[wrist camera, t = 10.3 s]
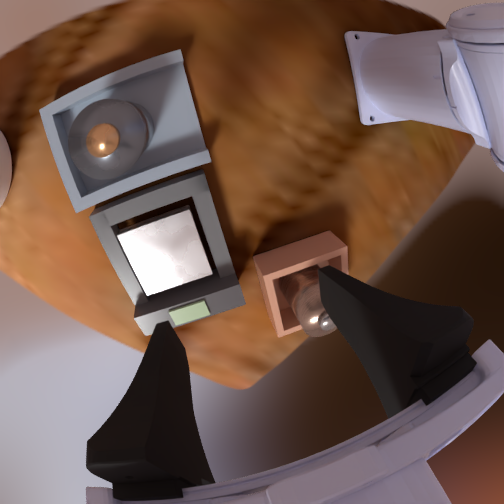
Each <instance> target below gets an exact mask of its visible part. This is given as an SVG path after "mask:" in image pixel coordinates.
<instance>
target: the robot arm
mask: <svg viewBox="0 0 504 504" xmlns="http://www.w3.org/2000/svg"><path fill="white" fill-rule="evenodd" d="M446 28H447V29H442V30H430V31H420V32H412V33H405V34H398V35H392V34H384V33H373V32H360V31H348V32H346V33H345V35H344V36H345V41H346V45H347V49H348V54H349V58H350V63H351V68H352V73H353V78H354V84H355V89H356V95H357V101H358V108H359V114H360V120H361V122H362V124H364V125H372V124H379V123H386V122H394V121H403V120H416V121H421V122H426V123H430V124H435V125H439V126H443V127H447V128H451V129H455V130H459V131H463V132H466V133H470V134H471V135H472V136H473V137H474V139H475V142H476V144H477V145H480V146H483V147H486V148H489V149H490V153H491V156H492V159H493V161H494V162H495V164H496V165H497V166H498V167H499V168H500V169H501V170H502V171H503V172H504V3H485V4H478V5H473V6H468V7H465V8H462V9H459V10H457V11H455V12H453V13H452V14H451V15H450V18H449V21H448V22H447V24H446ZM355 35H356V36H357V39H356V38H355ZM370 116H372V120H371V121H370ZM318 277H319V287H320V298H321V303H322V304H323V306H324V308H325V310H326V312H327V314H328V315H329V317H330V319H331V320H332V321H333V323H334V324H335V325H336V327H337V328H338V330H339V331H340V332H341V334H342V335H343V336H344V338H345V339H346V340H347V342H348V343H349V344H350V346H351V347H352V348H353V350H354V351H355V353H356V354H357V356H358V357H359V359H360V361H361V363H362V364H363V366H364V368H365V370H366V372H367V374H368V375H369V377H370V379H371V381H372V383H373V385H374V387H375V389H376V391H377V393H378V396H379V398H380V400H381V402H382V404H383V407H384V409H385V411H386V414H387V415H388V420H386V421H384V422H382V423H381V424H379V425H377V426H375V427H373V428H371V429H369V430H367V431H365V432H363V433H361V434H360V435H357V436H355V437H353V438H351V439H349V440H347V441H345V442H343V443H340V444H338V445H336V446H334V447H331V448H329V449H327V450H324V451H322V452H319V453H317V454H314V455H312V456H309V457H307V458H304V459H301V460H299V461H296V462H293V463H290V464H287V465H284V466H281V467H278V468H275V469H271V470H268V471H264V472H261V473H258V474H254V475H250V476H246V477H242V478H238V479H234V480H229V481H224V482H219V483H215V481H214V478H213V475H212V473H211V470H210V468H209V465H208V462H207V459H206V456H205V453H204V450H203V446H202V443H201V439H200V436H199V432H198V428H197V424H196V420H195V416H194V411H193V403H192V393H191V383H190V372H189V365H188V360H187V355H186V351H185V348H184V346H183V344H182V343H181V341H180V339H179V338H178V336H177V334H176V332H175V331H174V329H173V327H172V326H171V324H170V322H169V320H167V321H164V322H160V323H157V324H156V326H155V328H154V331H153V333H152V336H151V339H150V341H149V344H148V347H147V349H146V352H145V354H144V357H143V359H142V362H141V364H140V366H139V368H138V370H137V373H136V375H135V377H134V379H133V381H132V383H131V385H130V387H129V389H128V390H127V392H126V394H125V395H124V397H123V398H122V400H121V401H120V403H119V405H118V406H117V407H116V409H115V410H114V412H113V413H112V414H111V416H110V417H109V418H108V419H107V421H106V422H105V423H104V424H103V425H102V426H101V428H100V429H99V430H98V431H97V432H96V433H95V434H94V435H93V436H92V437H91V438H90V439H89V440H88V441H87V456H86V467H87V469H88V470H89V471H90V472H91V473H93V474H94V475H96V476H98V477H100V478H102V479H104V480H107V481H109V482H111V483H112V485H113V489H111V488H104V487H86V500H87V501H86V502H87V504H451V502H450V500H449V499H448V497H447V496H446V494H445V492H444V490H443V488H442V487H441V485H440V483H439V482H438V480H437V479H436V477H435V475H434V474H433V472H432V470H431V469H430V467H429V465H428V464H427V462H426V460H427V459H429V458H430V457H432V456H433V455H435V454H436V453H437V452H439V451H440V450H441V449H442V448H444V447H445V446H446V445H448V444H449V443H450V442H451V441H453V440H454V439H455V438H456V437H457V436H459V435H460V434H461V433H462V432H463V431H465V430H466V429H467V428H468V427H469V426H470V425H471V424H472V423H474V422H475V421H476V420H477V419H478V418H479V417H480V416H481V415H482V414H483V413H484V412H485V411H486V410H487V409H488V408H490V406H492V405H493V404H494V402H495V401H496V400H497V399H498V398H499V397H500V396H501V395H502V393H503V392H504V354H503V353H502V352H501V351H500V350H499V348H498V347H497V346H496V345H495V344H494V343H493V342H492V341H491V340H488V341H487V342H485V343H484V344H483V345H482V346H481V347H480V348H479V349H478V350H477V351H476V352H475V353H474V354H473V355H472V356H471V355H470V354H469V353H468V352H469V347H468V346H467V345H466V342H467V339H468V337H469V335H470V333H471V331H472V328H473V322H474V321H473V318H472V317H471V316H470V315H469V314H468V313H466V312H465V311H464V310H463V309H462V308H461V307H455V306H441V305H433V304H427V303H422V302H417V301H413V300H409V299H405V298H401V297H398V296H395V295H392V294H389V293H387V292H384V291H381V290H379V289H377V288H374V287H371V286H370V285H367V284H365V283H363V282H361V281H359V280H357V279H355V278H353V277H351V276H349V275H347V274H346V273H344V272H342V271H340V270H338V269H336V268H334V267H332V266H330V265H328V266H325V267H322V268H320V269H318ZM378 444H379V445H378ZM376 445H378V446H376ZM263 490H264V491H263ZM259 491H261V492H259ZM255 492H258V493H255ZM251 493H255V494H252V495H247V494H251Z"/></svg>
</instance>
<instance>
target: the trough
mask: <svg viewBox="0 0 504 504" xmlns="http://www.w3.org/2000/svg"><path fill="white" fill-rule="evenodd" d="M183 61H184V60H183V56H182V53H181V49H179V50H176V51H172V52H169V53H166V54H162V55H159V56H156V57H153V58H150V59H147V60H144V61H141V62H138V63H136V64H133V65H130V66H128V67H125V68H123V69H120V70H118V71H115V72H113V73H110V74H108V75H106V76H103V77H101V78H99V79H97V80H95V81H92V82H90V83H88V84H86V85H84V86H82V87H80V88H78V89H76V90H74V91H72V92H70V93H68V94H66V95H65V96H63V97H61V98H59V99H57V100H56V101H54V102H52V103H50V104H49V105H47V106H45V107H44V108H42V109H40V114H41V118H42V121H43V125H44V128H45V131H46V135H47V138H48V141H49V144H50V147H51V150H52V153H53V156H54V159H55V162H56V164H57V167H58V170H59V172H60V175H61V178H62V180H63V183H64V185H65V188H66V190H67V193H68V195H69V198H70V200H71V202H72V205H73V207H74V209H75V211H76V213H78V212H80V211H82V210H84V209H86V208H89V207H91V206H93V205H95V204H98V203H100V202H102V201H105V200H107V199H109V198H112V197H114V196H117V195H119V194H122V193H124V192H127V191H129V190H132V189H134V188H137V187H139V186H142V185H145V184H147V183H150V182H153V181H156V180H158V179H161V178H164V177H167V176H170V175H172V174H175V173H178V172H181V171H184V170H187V169H190V168H193V167H196V166H200V165H203V164H206V163H209V162H211V159H210V155H209V151H208V149H207V148H206V146H205V143H204V139H203V135H202V132H201V128H200V125H199V121H198V118H197V114H196V110H195V107H194V103H193V99H192V96H191V92H190V88H189V85H188V81H187V77H186V74H185V70H184V66H183ZM102 99H118V100H123V101H128V102H133V103H137V104H139V105H141V106H143V107H144V108H145V109H146V110H147V111H148V112H149V113H150V115H151V117H152V120H153V123H154V134H153V138H152V141H151V143H150V145H149V147H148V148H147V149H146V150H145V152H144V153H143V154H142V155H141V157H140V158H139V159H138V160H137V162H136V163H135V164H134V165H133V167H132V168H131V169H129V170H128V171H127V172H126V173H124V174H122V175H120V176H118V177H116V178H112V179H105V180H101V179H95V178H91V177H89V176H87V175H85V174H84V173H82V172H81V171H80V170H79V169H78V168H77V167H76V166H75V164H74V163H73V161H72V159H71V156H70V153H69V148H68V137H69V132H70V128H71V126H72V123H73V121H74V120H75V118H76V117H77V115H78V114H79V113H80V112H81V111H82V110H83V109H84V108H85V107H86V106H88V105H89V104H91V103H93V102H95V101H98V100H102Z"/></svg>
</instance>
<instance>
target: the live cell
mask: <svg viewBox="0 0 504 504" xmlns="http://www.w3.org/2000/svg"><path fill="white" fill-rule="evenodd" d="M153 134H154V123H153V120H152V117H151V115H150V113H149V112H148V111H147V110H146V109H145V108H144V107H143V106H141V105H139V104H137V103H133V102H128V101H123V100H118V99H102V100H98V101H95V102H93V103H91V104H89V105H88V106H86V107H85V108H84V109H83V110H82V111H81V112H80V113H79V114H78V115H77V117H76V118H75V120H74V121H73V123H72V126H71V128H70V132H69V137H68V148H69V153H70V156H71V159H72V161H73V163H74V164H75V166H76V167H77V168H78V169H79V170H80V171H81V172H82V173H84V174H85V175H87V176H89V177H91V178H95V179H101V180H105V179H112V178H116V177H118V176H120V175H122V174H124V173H126V172H127V171H128V170H129V169H131V168H132V167H133V165H134V164H135V163H136V162H137V160H138V159H139V158H140V157H141V155H142V154H143V153H144V152H145V150H146V149H147V148H148V147H149V145H150V143H151V141H152V138H153Z"/></svg>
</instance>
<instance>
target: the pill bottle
mask: <svg viewBox="0 0 504 504" xmlns="http://www.w3.org/2000/svg"><path fill="white" fill-rule="evenodd" d="M11 177H12V160H11V153H10V149H9V146H8V143H7V141H6V139H5V137H4V135H3V133H2V132H1V131H0V207H1V205H2V204H3V202H4V201H5V199H6V196H7V194H8V191H9V188H10V183H11Z"/></svg>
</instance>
